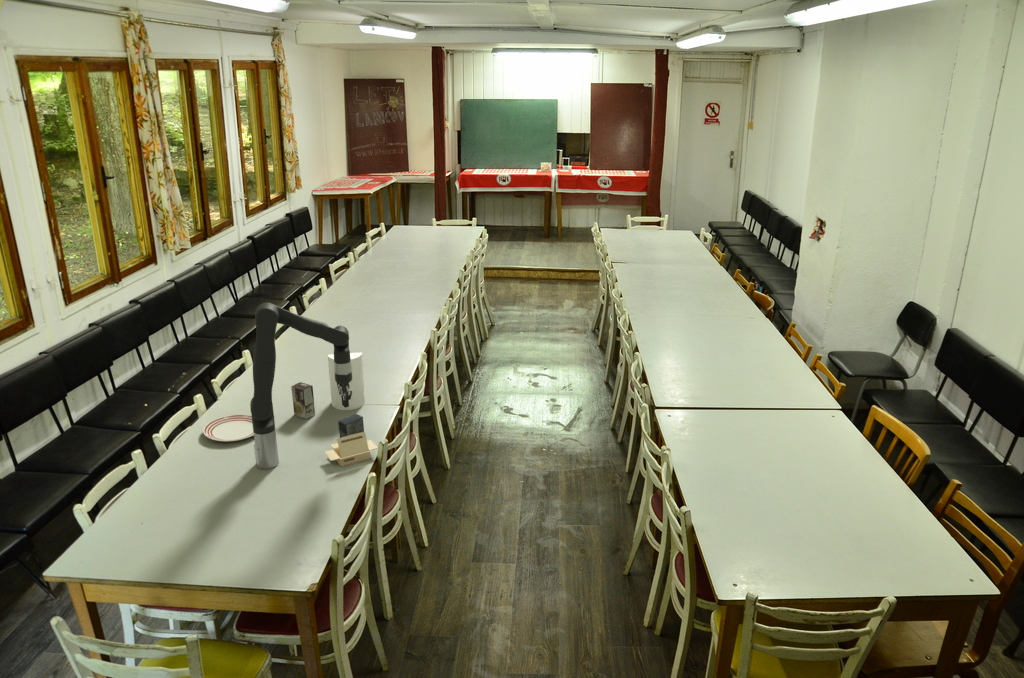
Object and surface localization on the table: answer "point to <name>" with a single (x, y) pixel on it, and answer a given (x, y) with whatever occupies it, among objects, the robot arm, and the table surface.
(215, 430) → the dinner plate
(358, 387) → the cylinder
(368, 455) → the carton
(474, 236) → the table surface
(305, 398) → the coffee box
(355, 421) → the small box
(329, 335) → the robot arm
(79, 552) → the table surface
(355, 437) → the front flap
